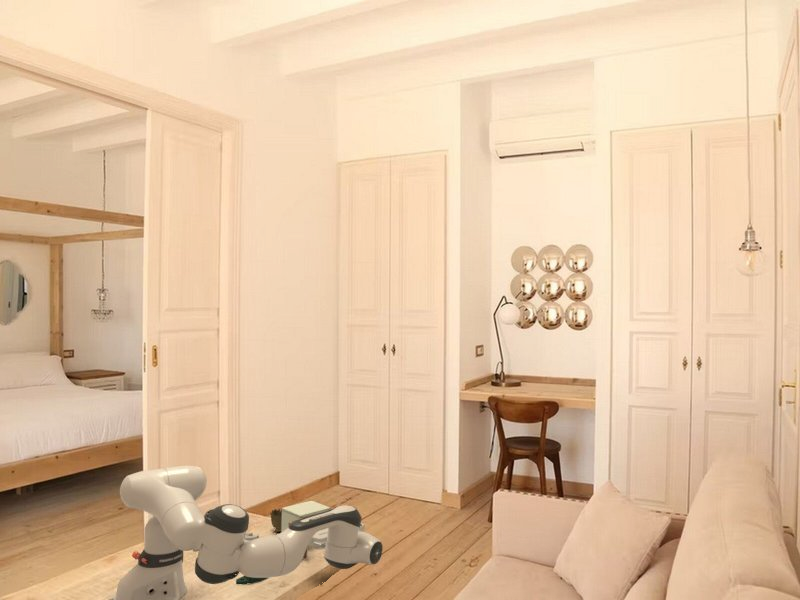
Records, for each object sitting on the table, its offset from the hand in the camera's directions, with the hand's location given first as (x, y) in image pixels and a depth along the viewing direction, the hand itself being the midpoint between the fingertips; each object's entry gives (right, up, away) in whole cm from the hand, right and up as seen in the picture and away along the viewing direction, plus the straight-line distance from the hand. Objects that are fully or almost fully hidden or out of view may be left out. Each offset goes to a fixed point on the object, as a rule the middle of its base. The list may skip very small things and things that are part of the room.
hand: (319, 528), depth 225 cm
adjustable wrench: (-38, -13, +20) cm, 45 cm away
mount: (-21, -13, -12) cm, 27 cm away
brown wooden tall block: (-9, -13, +8) cm, 18 cm away
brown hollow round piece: (-20, -13, +33) cm, 41 cm away
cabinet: (-8, -13, +22) cm, 27 cm away
